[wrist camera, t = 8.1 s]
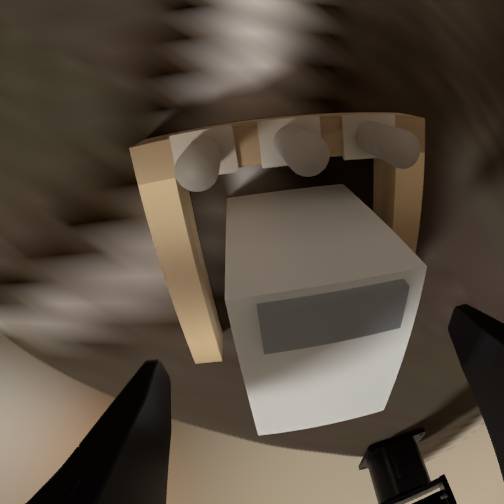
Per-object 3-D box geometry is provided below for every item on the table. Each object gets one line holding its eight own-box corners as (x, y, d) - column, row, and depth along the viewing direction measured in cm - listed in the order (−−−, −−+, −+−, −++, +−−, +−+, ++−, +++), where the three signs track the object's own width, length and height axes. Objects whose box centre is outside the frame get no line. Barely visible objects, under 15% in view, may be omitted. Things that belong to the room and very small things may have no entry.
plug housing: (339, 306, 14) (386, 417, 9) (248, 320, 14) (259, 442, 9) (342, 183, 11) (433, 273, 6) (226, 197, 11) (224, 309, 6)
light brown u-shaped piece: (385, 305, 14) (419, 362, 11) (197, 335, 14) (192, 404, 11) (399, 110, 10) (466, 125, 6) (144, 136, 10) (100, 161, 6)
